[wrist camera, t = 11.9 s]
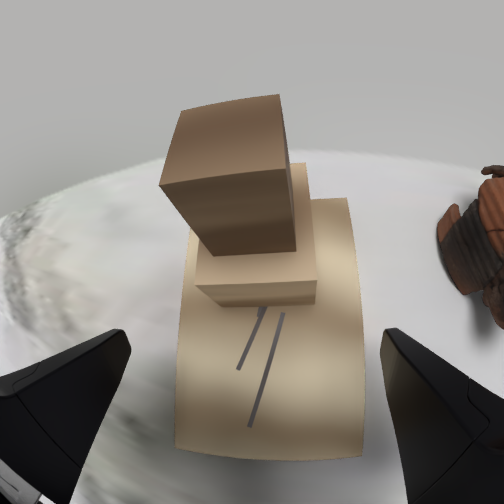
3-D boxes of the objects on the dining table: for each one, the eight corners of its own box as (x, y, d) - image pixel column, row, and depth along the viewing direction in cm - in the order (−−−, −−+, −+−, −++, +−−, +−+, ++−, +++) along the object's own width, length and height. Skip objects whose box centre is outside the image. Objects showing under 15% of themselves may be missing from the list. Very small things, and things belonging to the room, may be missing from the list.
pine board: (356, 448, 11) (361, 456, 10) (185, 442, 13) (174, 448, 12) (344, 210, 18) (346, 197, 16) (200, 221, 19) (192, 209, 18)
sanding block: (314, 304, 14) (321, 207, 6) (221, 307, 15) (126, 226, 7) (307, 207, 16) (297, 76, 8) (228, 213, 17) (170, 97, 9)
